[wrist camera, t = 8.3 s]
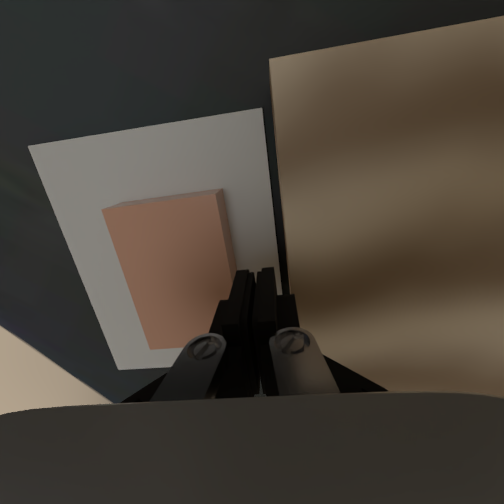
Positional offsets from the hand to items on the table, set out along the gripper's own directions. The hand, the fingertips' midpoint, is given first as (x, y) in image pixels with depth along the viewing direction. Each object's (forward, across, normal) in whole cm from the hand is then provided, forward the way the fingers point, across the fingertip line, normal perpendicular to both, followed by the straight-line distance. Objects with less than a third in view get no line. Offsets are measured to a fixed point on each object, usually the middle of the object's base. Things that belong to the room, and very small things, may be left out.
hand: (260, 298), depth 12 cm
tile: (+3, +5, 0) cm, 5 cm away
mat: (+5, +6, 0) cm, 8 cm away
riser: (+5, -7, 0) cm, 9 cm away
